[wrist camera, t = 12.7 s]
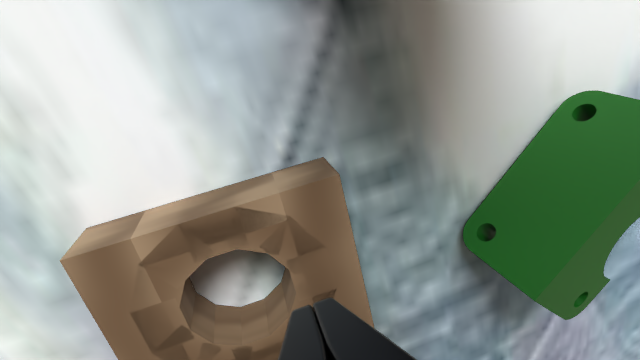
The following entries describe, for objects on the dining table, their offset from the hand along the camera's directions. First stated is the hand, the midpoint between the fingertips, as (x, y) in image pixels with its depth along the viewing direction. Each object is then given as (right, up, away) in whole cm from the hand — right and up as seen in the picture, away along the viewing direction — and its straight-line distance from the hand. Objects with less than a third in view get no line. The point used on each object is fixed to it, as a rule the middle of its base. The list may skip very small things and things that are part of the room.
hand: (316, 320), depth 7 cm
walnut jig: (-3, -6, +14) cm, 16 cm away
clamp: (+14, +2, +16) cm, 22 cm away
